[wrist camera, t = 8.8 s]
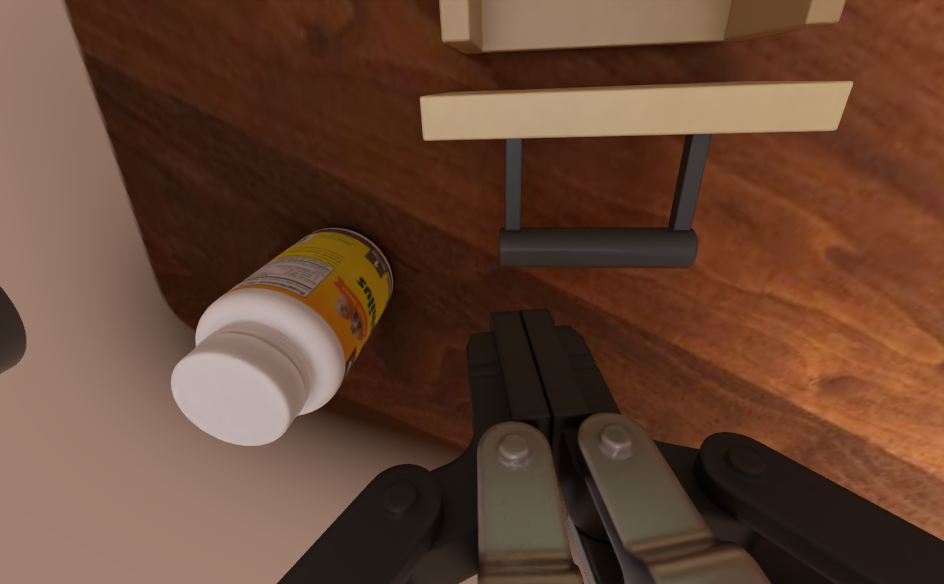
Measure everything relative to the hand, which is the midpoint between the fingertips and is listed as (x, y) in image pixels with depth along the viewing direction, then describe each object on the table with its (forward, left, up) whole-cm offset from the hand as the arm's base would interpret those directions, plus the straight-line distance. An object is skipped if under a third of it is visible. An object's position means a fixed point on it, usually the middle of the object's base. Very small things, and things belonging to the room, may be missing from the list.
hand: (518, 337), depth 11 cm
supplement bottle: (-9, -3, -10) cm, 14 cm away
